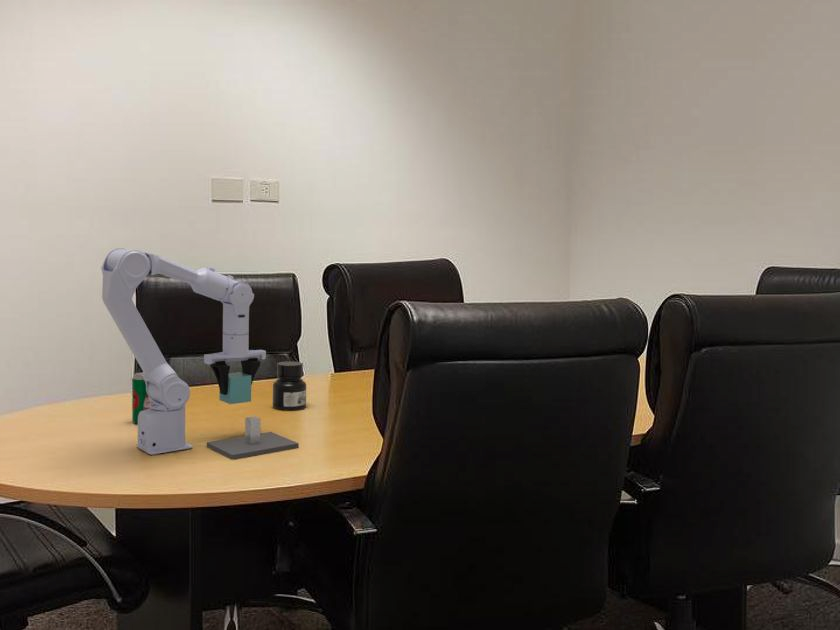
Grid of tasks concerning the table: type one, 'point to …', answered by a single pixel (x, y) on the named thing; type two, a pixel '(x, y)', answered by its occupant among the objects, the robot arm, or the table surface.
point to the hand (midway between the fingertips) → (235, 392)
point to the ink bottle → (289, 387)
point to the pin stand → (252, 442)
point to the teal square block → (237, 388)
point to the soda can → (139, 396)
